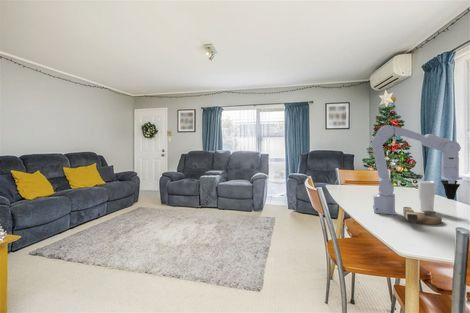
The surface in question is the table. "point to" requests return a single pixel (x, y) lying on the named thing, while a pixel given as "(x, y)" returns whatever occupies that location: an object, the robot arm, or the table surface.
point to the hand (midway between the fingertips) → (449, 197)
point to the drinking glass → (426, 195)
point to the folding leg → (410, 214)
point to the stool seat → (428, 218)
